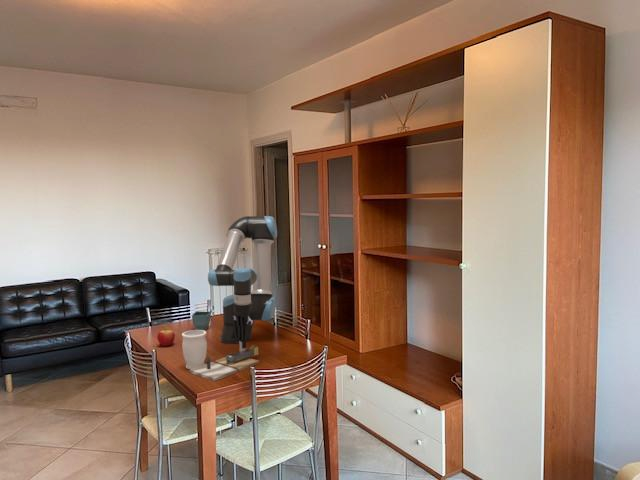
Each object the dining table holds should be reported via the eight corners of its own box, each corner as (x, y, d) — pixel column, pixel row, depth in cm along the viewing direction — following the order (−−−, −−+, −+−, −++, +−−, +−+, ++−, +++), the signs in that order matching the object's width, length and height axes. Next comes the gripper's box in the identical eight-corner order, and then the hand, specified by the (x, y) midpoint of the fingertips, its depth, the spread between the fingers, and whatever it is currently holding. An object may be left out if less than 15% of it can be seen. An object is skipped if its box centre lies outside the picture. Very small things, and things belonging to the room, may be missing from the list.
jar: (185, 362, 215) (184, 329, 214) (209, 361, 216) (208, 329, 215) (180, 371, 204) (179, 336, 203) (205, 370, 205) (204, 335, 204)
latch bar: (229, 362, 207) (228, 354, 207) (224, 360, 210) (224, 352, 210) (259, 354, 217) (258, 347, 217) (254, 352, 220) (253, 345, 220)
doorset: (189, 372, 203) (189, 358, 202) (234, 356, 222) (234, 343, 222) (214, 381, 193) (214, 366, 192) (259, 363, 213) (259, 350, 212)
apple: (154, 345, 241) (153, 326, 240) (169, 341, 247) (169, 322, 246) (162, 349, 235) (162, 329, 234) (178, 345, 241) (177, 325, 240)
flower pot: (207, 331, 266) (207, 315, 265) (192, 331, 266) (191, 315, 265) (211, 326, 275) (211, 311, 274) (196, 326, 275) (195, 311, 274)
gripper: (226, 302, 215) (226, 353, 217) (245, 307, 207) (245, 360, 209) (239, 299, 220) (239, 349, 223) (258, 304, 213) (258, 355, 215)
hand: (242, 354), depth 216 cm, fingers closed
